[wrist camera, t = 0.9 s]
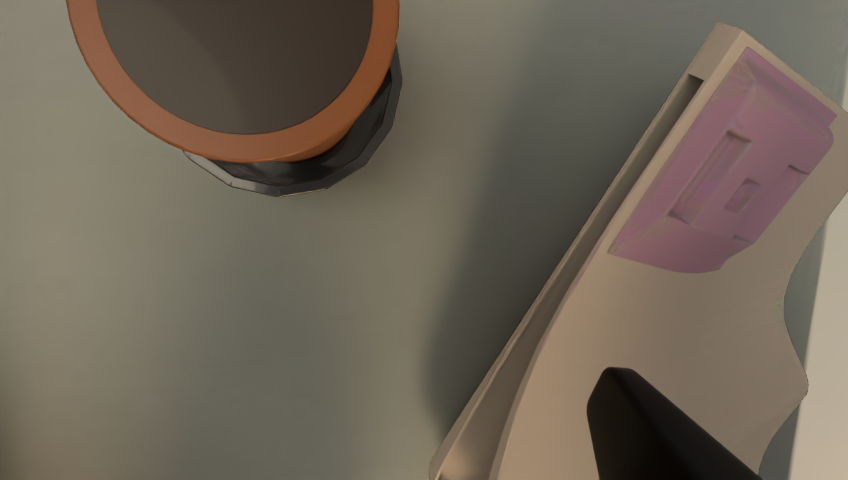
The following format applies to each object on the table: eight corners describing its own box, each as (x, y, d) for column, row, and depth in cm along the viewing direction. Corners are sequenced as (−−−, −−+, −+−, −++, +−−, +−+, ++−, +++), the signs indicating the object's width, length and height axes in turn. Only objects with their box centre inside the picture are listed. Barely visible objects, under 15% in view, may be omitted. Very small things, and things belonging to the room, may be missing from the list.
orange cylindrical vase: (345, 179, 22) (362, 194, 10) (200, 146, 21) (33, 118, 9) (376, 39, 22) (432, -114, 10) (229, -2, 20) (93, -232, 9)
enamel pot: (362, 207, 23) (371, 218, 18) (173, 164, 21) (127, 163, 16) (403, 26, 22) (424, -15, 17) (211, -31, 21) (174, -93, 16)
